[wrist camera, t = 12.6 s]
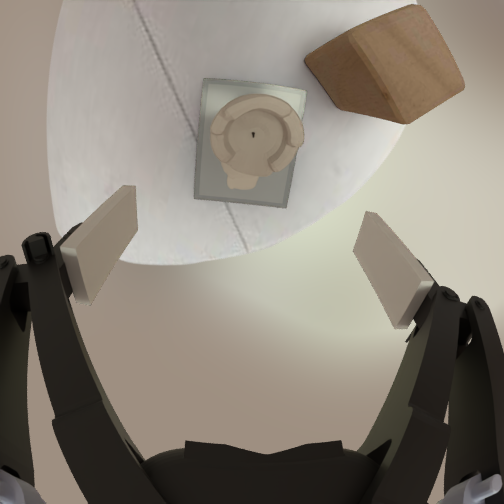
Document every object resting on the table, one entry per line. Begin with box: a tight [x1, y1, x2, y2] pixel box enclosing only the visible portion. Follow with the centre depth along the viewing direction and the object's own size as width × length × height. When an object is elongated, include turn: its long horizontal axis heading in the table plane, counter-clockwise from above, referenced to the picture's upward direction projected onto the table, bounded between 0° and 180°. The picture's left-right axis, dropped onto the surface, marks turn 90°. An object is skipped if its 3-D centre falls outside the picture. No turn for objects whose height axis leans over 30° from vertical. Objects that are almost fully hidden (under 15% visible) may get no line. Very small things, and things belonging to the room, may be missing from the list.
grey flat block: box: [194, 78, 307, 208], centre depth 38 cm, size 18×14×3 cm
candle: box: [210, 94, 304, 190], centre depth 28 cm, size 7×14×20 cm, turn 171°
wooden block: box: [305, 4, 465, 124], centre depth 24 cm, size 10×10×20 cm
